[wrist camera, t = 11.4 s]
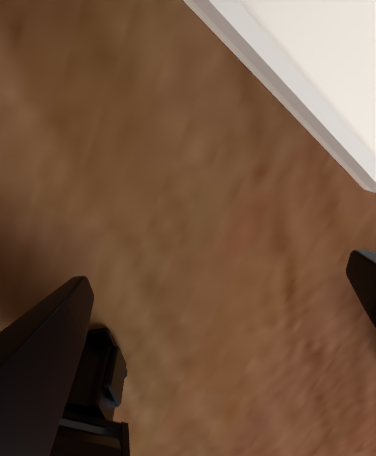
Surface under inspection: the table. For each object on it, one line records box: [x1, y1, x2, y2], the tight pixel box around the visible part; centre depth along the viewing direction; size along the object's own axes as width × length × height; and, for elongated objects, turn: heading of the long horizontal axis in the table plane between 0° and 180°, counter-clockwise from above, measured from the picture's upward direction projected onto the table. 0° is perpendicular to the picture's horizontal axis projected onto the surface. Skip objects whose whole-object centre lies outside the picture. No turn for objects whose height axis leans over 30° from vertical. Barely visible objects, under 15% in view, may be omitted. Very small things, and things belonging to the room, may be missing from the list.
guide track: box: [183, 0, 376, 193], centre depth 13 cm, size 24×10×6 cm, turn 52°
